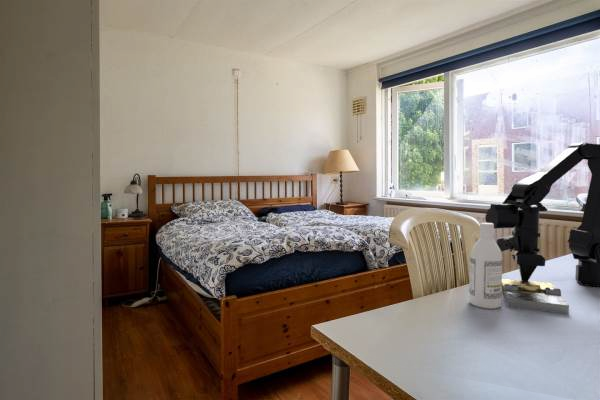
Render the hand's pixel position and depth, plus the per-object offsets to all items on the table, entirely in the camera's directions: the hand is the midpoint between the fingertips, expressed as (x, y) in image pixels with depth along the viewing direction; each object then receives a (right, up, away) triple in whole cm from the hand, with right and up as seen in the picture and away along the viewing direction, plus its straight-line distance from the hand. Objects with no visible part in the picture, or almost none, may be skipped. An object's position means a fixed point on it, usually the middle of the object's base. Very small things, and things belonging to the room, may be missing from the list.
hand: (524, 282), depth 102 cm
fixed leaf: (-5, -2, -13) cm, 14 cm away
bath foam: (-17, -3, -12) cm, 22 cm away
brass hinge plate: (-2, -2, -5) cm, 6 cm away
